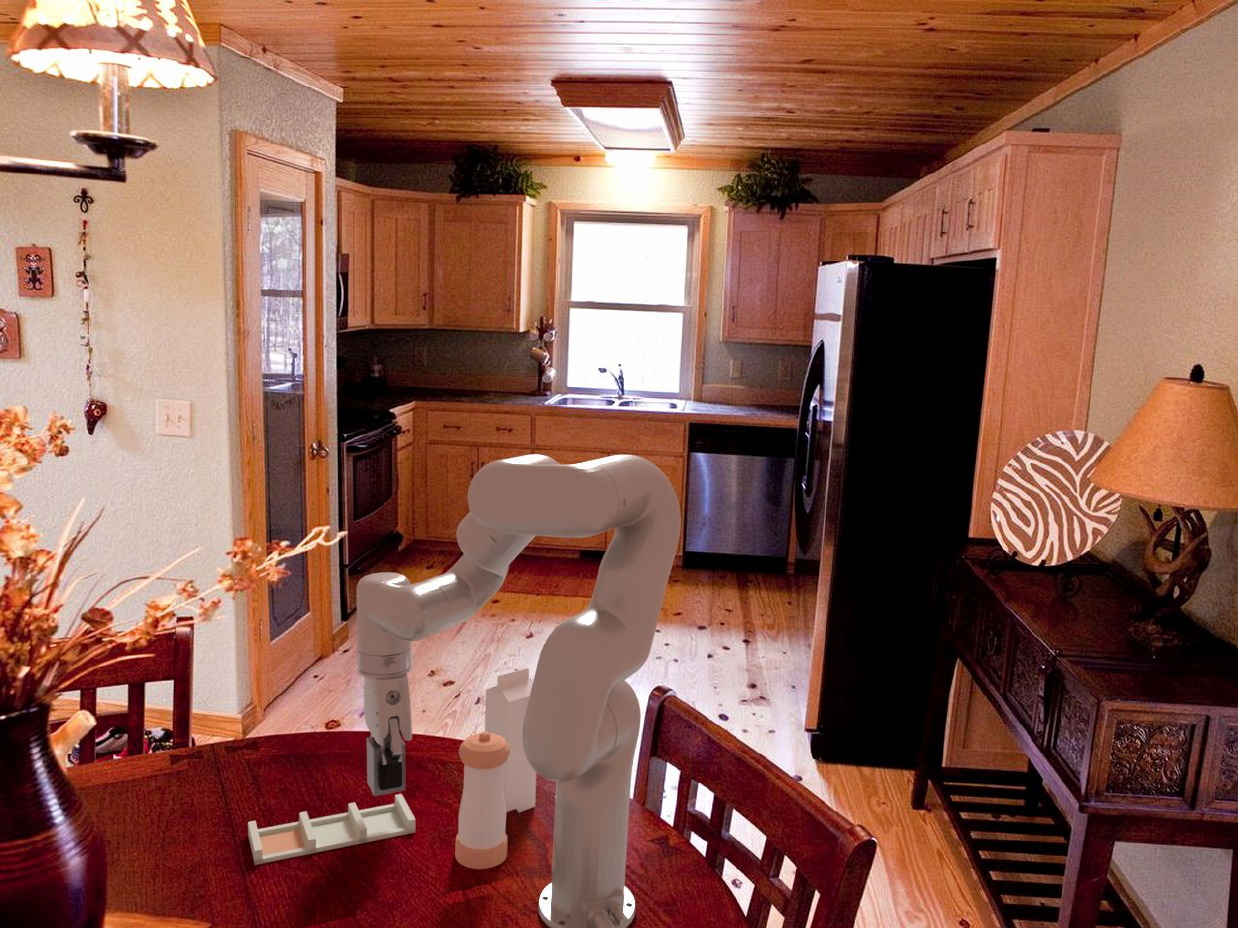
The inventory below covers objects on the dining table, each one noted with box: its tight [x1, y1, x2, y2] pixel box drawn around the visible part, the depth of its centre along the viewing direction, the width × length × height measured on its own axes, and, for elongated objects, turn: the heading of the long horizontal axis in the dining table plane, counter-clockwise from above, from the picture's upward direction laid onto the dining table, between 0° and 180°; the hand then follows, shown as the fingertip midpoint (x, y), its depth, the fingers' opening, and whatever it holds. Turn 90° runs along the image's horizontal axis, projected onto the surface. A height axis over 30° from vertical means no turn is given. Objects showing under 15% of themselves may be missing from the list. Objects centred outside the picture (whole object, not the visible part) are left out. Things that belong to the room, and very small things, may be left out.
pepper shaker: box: [454, 730, 510, 870], centre depth 133 cm, size 7×7×19 cm
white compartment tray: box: [247, 793, 416, 866], centre depth 138 cm, size 8×22×3 cm, turn 117°
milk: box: [484, 667, 537, 813], centre depth 148 cm, size 6×6×22 cm
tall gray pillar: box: [366, 736, 407, 797], centre depth 139 cm, size 4×4×7 cm
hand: (386, 778), depth 139 cm, fingers closed on tall gray pillar, 4 cm apart
